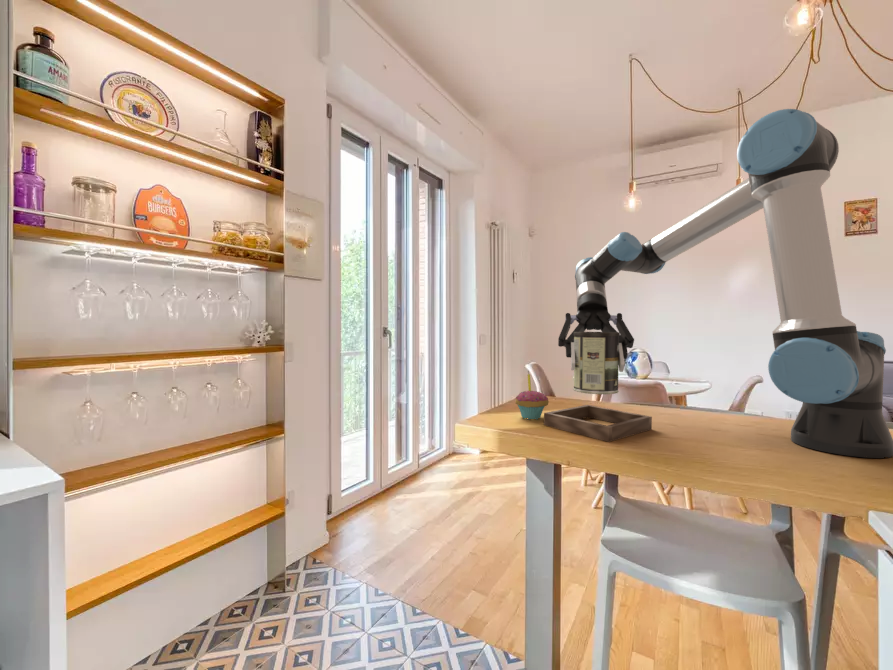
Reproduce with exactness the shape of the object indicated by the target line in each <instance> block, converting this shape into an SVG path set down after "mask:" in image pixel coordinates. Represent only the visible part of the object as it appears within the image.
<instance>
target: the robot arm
mask: <svg viewBox="0 0 893 670" xmlns="http://www.w3.org/2000/svg"><path fill="white" fill-rule="evenodd" d="M839 148H840V147H839V142H838V139H837V137H836V136H835V134H834V133H833V132H832V131H830V130H829V129H827V128H826V127H825V126H823V125H822V124H821V123H819V122H818V121H817V120H816V119H815V117H814V116H813V115H812V114H810V113H809V112H806V111H802V110H800V109H796V108H784V109H778V110H775V111H773V112H770V113H768V114H766V115H764V116H762V117H761V118H759V119H758V120H756V121H755V122H754V123H753V124H752V125H751V126H750V127H748V128H747V131H746V132H745V133H744V135H742V136H741V139H740V140H739V143H738V145H737V149H736V159H737V162H738V165H739V167H740V168H741V170H743V171H744V172H745V173H747V174H748V178H746V179H745V180H743V181H742V182H740V183H738V184H736V185H735V186H733V187H732V188H731V189H728V190H727V191H725V192H724V193H722V194H721V195H719V196H718V197H716V198H715V199H712V200H711V201H710V202H708V203H706V204H705V205H703V206H702V207H700V208H698V209H697V210H695V211H694V212H692V213H690V214H689V215H687V216H686V217H684V218H683V219H681V220H679V221H678V222H675V224H673V225H671V226H670V227H668V228H666V229H665V230H663V231H662V232H660V233H658V234H657V235H655V236H654V237H652V238H651V239H649V240H648V241H645V243H642V244H641V242H640V241H639V239H638V238H637V237H635V235H633V234H631V233H630V232H626V231H622V232H619V233H618V234H617V235H616V236H615V237H614V238H612V239H610V240H609V242H608V243H607V244H606V245H604V247H602V249H600V250H599V251H598V252H597V253H596V254H595V255H594V256H593V257H591V256H590V257H586V258H583V259H581V260H580V261H578V263H577V264H576V266H575V274H574V279H575V289H576V309H577V311H576V312H577V313H576V314H573V315H572V314H571V313H569V312H567V313H565V319H564V320H565V321H564V324H563V326H562V328H561V331H560V333H559V336H558V342H557V345H558V347H560V348H561V347H564V348H565V356H566V358H570V369H571V371H574V370H575V348H574V332H586V330H587V331H592V330H593V331H595V330H596V331H600V332H619V333H620V335H619V365H618V372H621V373H624V369H625V363H626V362H625V360H627V358H628V349H632V348H633V346H634V343H635V338H634V336H633V334H632V333H631V332H630V330H629V329H628V327H627V325H626V323H625V321H624V320H623V313H621V312H618V313H616V315H612V314H610V313H609V311H608V302H607V294H606V283H607V282H608V281H610V280H611V279H612V278H614V276H616V275H617V274H618V273H619V272H621V271H622V272H632V273H637V274H638V273H639V274H642V275H650V274H656V273H658V272H660V271H661V270H662V269H664V267H665V266H666V264H667V262H668V261H671V260H673V259H674V258H676V257H678V256H679V255H681V254H683V253H685V252H686V251H689V250H691V249H692V248H694V247H696V246H698V245H700V244H701V243H703V242H705V241H706V240H709V239H710V238H712V237H713V236H715V235H718V234H719V233H721V232H722V231H724V230H726V229H728V228H730V227H732V226H733V225H735V224H737V223H739V222H741V221H742V220H745V219H746V218H748V217H750V216H752V215H753V214H755V213H757V212H759V211H760V210H762V209H763V213H764V221H765V226H766V227H765V228H766V233H767V241H768V247H769V254H770V260H771V265H772V273H773V279H774V286H775V291H776V298H777V305H778V313H779V319H780V322H779V324H778V325H777V326H776V328H775V329H774V330H773V331H772V338H773V339H772V340H773V347H774V351H773V352H772V354H771V355H770V357H769V361H768V367H767V368H768V369H767V370H768V374H769V377H770V379H771V381H772V383H773V384H774V386H775V387H776V388H777V389H778V390H779V391H780V392H781V393H782V394H784V395H785V396H786V397H789V398H791V399H793V400H795V401H799V402H800V403H802V404H801V407H800V409H799V412H798V414H797V416H796V418H795V419H794V422H793V425H792V427H791V429H790V440H791V442H792V443H794V444H797V445H799V446H801V447H804V448H807V449H808V448H809V449H811V450H815V451H820V452H824V453H829V454H834V455H840V456H841V455H843V456H849V457H855V458H869V459H885V458H884V457H888V458H892V457H893V436H892V434H891V431H890V428H889V427H888V425H887V421H886V420H885V416H884V412H883V397H884V395H883V394H884V371H885V368H884V367H885V366H884V365H885V364H884V363H885V355H886V352H887V349H886V347H885V340H884V338H883V337H882V335H880V334H877V333H875V332H869V331H860V330H857V324H856V323H854V322H853V321H851V320H850V319H848V318H846V317H845V316H844V315H843V313H842V306H841V301H840V294H839V290H838V284H837V277H836V270H835V265H834V258H833V254H832V246H831V239H830V234H829V230H828V229H829V228H828V223H827V217H826V210H825V205H824V199H823V193H822V187H823V185H825V183H826V182H827V181H828V179H829V178H831V170H832V168H833V167H834V166H835V164H836V161H837V159H838V157H839V151H840V149H839ZM575 321H576V322H577V323H578V325H577V326H576V327H575V328H574V330H573V331H572V332H571V334H570V335H569V331H570V329H571V325H573V324H574V322H575ZM610 322H612V324H613V325H614V326H615V327H616V328H614V327H613V326H612V325H611V323H610ZM616 329H617V330H616ZM568 335H569V336H568ZM891 456H892V457H891Z"/></svg>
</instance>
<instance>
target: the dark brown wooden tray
mask: <svg viewBox="0 0 893 670" xmlns="http://www.w3.org/2000/svg"><path fill="white" fill-rule="evenodd" d="M587 417H588V418H589V417H590V419H594V420H599V421H604V422H609V423H612V424H608V425H606V424H602V423H597V422H594V421H593V422H592V421H588V420H584V419H587ZM582 418H583V419H582ZM545 425H546V427H549V428H553V429H558V430H561V431H565V432H568V433H573V434H576V435H581V436H583V437H589V438H592V439H596V440H600V441H604V442H609V443H610V442H612V441H616V440H619V439H624V438H626V436H627V437H630V435H631V436H633V434H634V435H637V434H641V433H644V432H647V431H651V430H652V425H653V416H651V415H644V414H639V413H635V412H634V413H633V412H628V411H623V410H618V409H612V408H608V407H607V408H606V407H602V406H596V405H591V404H584V405H579V406H574V407H567V408H563V409H558V410H553V411H547V412H544V413H543V426H545ZM640 432H641V433H640ZM623 437H624V438H623Z"/></svg>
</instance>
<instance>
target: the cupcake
mask: <svg viewBox="0 0 893 670" xmlns="http://www.w3.org/2000/svg"><path fill="white" fill-rule="evenodd" d="M527 373H528V374H527V385H528V386H527V388H528V390H525V391H522V392H519V394H518V395H516V396H515V401H514V402H515V404H516V405H517V406H518V410H519V412H520V414H521V418H522V417H523V418H522V419H524V418H528V419H527V420H530V419H536V420H539V419H538V418H540V419H541V417H542V414H543V410H544V409H545V408H546V407H547V406H548V405H549V402H550V401H549V398H548V397H547V395H545V394H544V393H543V392H540V391H536V390H532V384H531V382H532V381H531V374H530V371H529V370H528V371H527Z"/></svg>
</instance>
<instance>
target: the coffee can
mask: <svg viewBox="0 0 893 670" xmlns="http://www.w3.org/2000/svg"><path fill="white" fill-rule="evenodd" d="M619 335H620V333H619V331H617V332H602V331H584V332H574V348H575V370H573V388H572V390H573V391H574V392H577V393H581V394H590V395H614V394H615V395H616V394H618V393H619V392H620V391H619Z"/></svg>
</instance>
